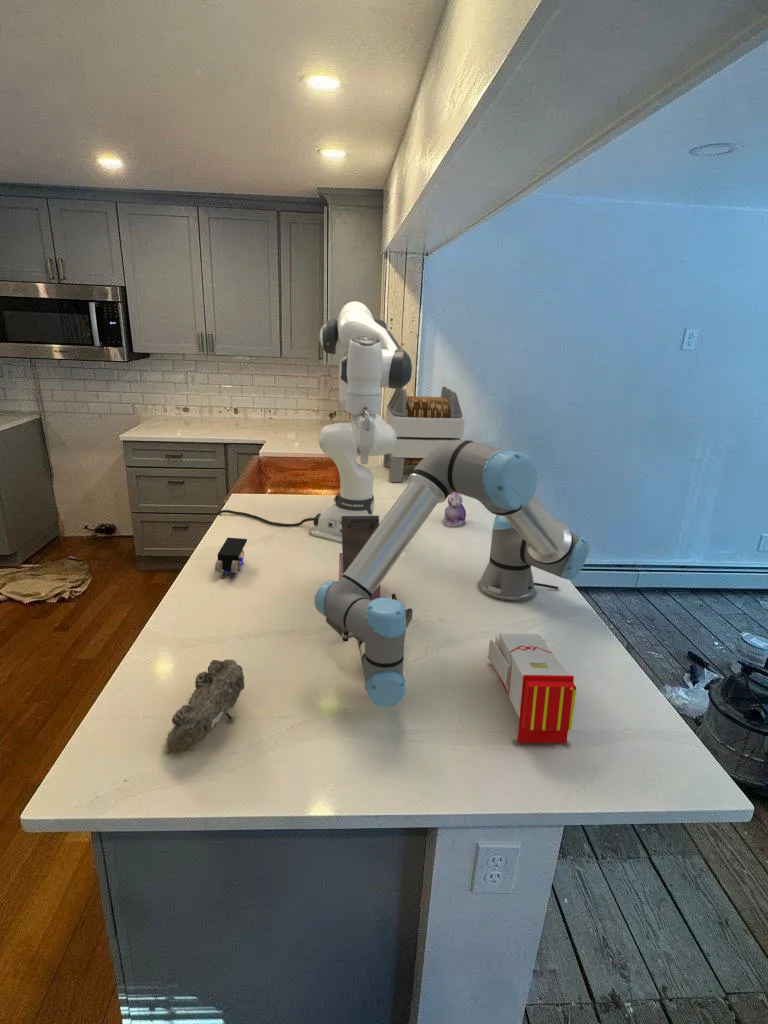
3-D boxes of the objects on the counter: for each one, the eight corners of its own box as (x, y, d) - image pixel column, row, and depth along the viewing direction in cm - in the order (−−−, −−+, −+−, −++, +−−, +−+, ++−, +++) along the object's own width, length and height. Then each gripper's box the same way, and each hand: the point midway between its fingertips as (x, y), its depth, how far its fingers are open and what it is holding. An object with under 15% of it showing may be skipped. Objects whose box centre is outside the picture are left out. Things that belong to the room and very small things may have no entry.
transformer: (382, 463, 289) (386, 382, 275) (445, 464, 293) (451, 384, 279) (390, 482, 257) (394, 392, 243) (460, 483, 261) (468, 394, 247)
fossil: (192, 660, 117) (244, 628, 112) (224, 691, 120) (276, 661, 115) (142, 746, 98) (202, 712, 93) (182, 779, 101) (242, 748, 96)
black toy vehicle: (238, 584, 162) (249, 557, 175) (236, 562, 158) (247, 536, 172) (215, 584, 161) (227, 556, 175) (212, 561, 158) (225, 535, 171)
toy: (536, 617, 130) (585, 683, 100) (531, 671, 132) (578, 750, 103) (483, 616, 129) (518, 682, 100) (479, 670, 132) (511, 749, 103)
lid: (341, 517, 151) (343, 508, 143) (378, 516, 153) (382, 507, 144) (342, 573, 147) (345, 567, 139) (380, 572, 149) (385, 566, 140)
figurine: (451, 529, 206) (455, 489, 201) (436, 519, 214) (439, 481, 209) (472, 525, 210) (476, 487, 205) (457, 516, 219) (460, 479, 214)
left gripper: (381, 412, 132) (379, 469, 137) (371, 398, 151) (369, 449, 156) (355, 411, 131) (353, 469, 136) (347, 398, 150) (346, 449, 155)
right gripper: (317, 665, 119) (314, 614, 139) (433, 660, 123) (414, 610, 143) (317, 635, 117) (314, 587, 137) (435, 630, 120) (416, 584, 140)
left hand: (362, 458), depth 146 cm, fingers open, 8 cm apart
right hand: (365, 599), depth 140 cm, fingers open, 13 cm apart
